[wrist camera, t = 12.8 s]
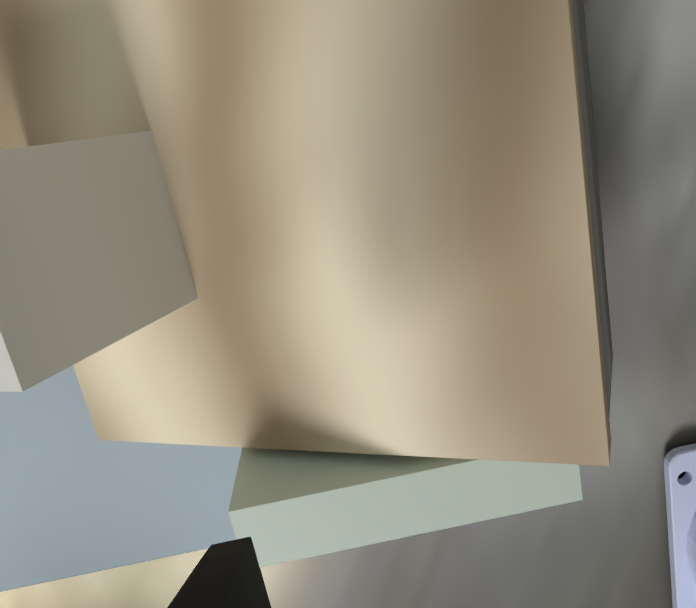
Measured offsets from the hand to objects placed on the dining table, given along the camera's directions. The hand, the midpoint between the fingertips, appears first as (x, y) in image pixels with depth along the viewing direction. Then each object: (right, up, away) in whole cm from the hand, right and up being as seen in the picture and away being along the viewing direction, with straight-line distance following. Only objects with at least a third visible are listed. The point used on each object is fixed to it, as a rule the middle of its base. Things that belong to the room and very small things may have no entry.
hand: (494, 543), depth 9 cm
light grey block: (-8, +5, +6) cm, 11 cm away
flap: (-3, +7, +8) cm, 11 cm away
